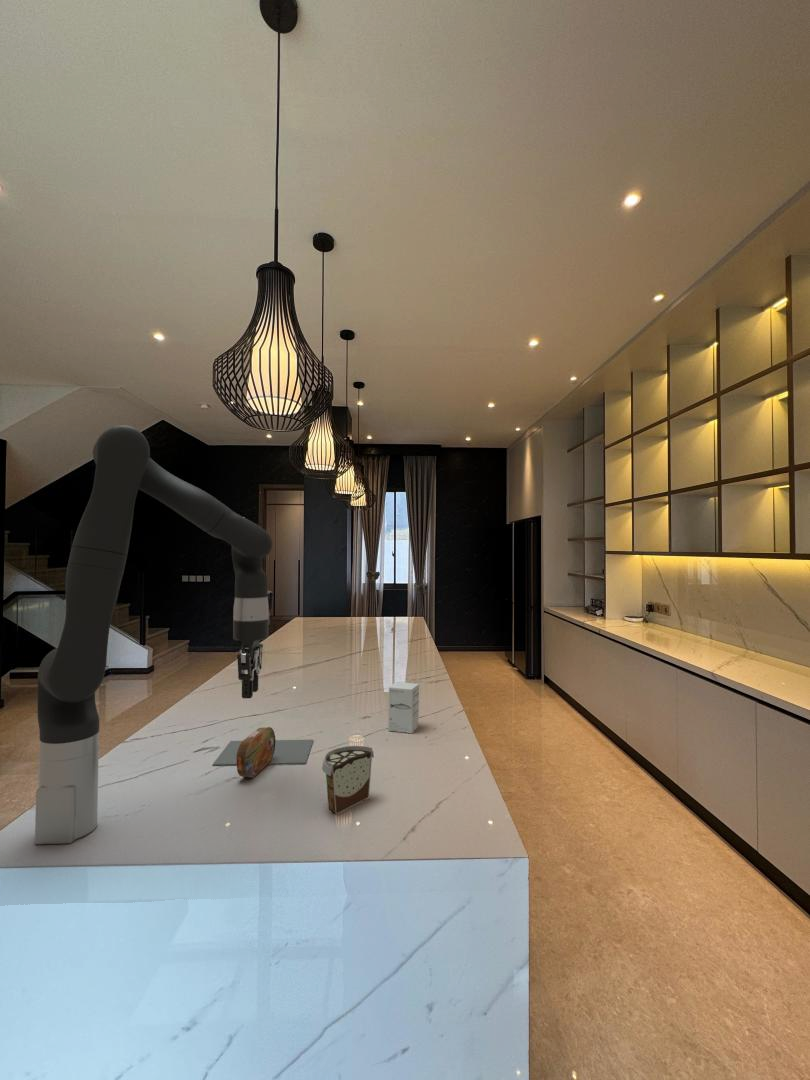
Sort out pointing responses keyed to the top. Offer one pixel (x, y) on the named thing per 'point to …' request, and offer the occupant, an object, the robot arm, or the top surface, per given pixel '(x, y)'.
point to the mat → (282, 755)
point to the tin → (255, 752)
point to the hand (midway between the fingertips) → (250, 694)
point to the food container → (347, 776)
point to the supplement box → (403, 707)
